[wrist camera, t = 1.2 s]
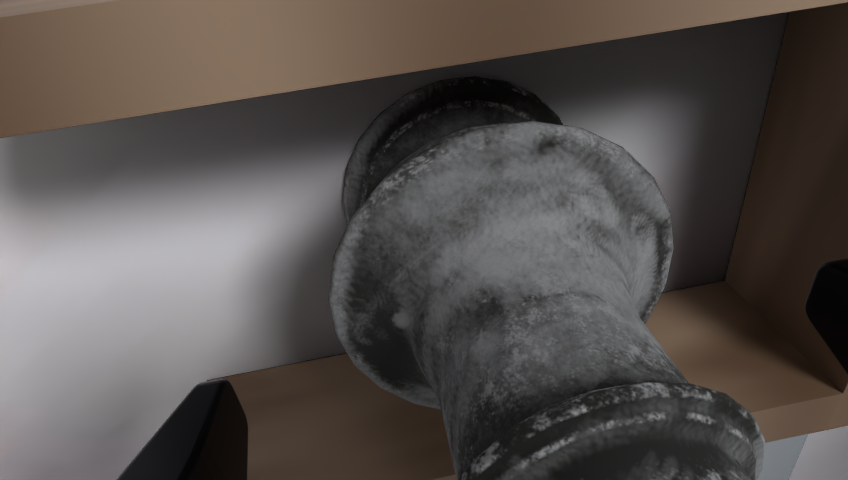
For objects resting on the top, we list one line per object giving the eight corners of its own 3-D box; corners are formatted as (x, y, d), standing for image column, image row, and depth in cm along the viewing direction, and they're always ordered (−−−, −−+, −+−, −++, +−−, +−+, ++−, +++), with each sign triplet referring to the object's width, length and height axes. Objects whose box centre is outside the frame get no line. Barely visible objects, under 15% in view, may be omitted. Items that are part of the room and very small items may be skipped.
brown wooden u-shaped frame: (884, -135, 10) (1180, -155, 6) (756, 306, 15) (876, 419, 12) (17, -10, 9) (-180, 44, 5) (221, 411, 14) (189, 565, 11)
